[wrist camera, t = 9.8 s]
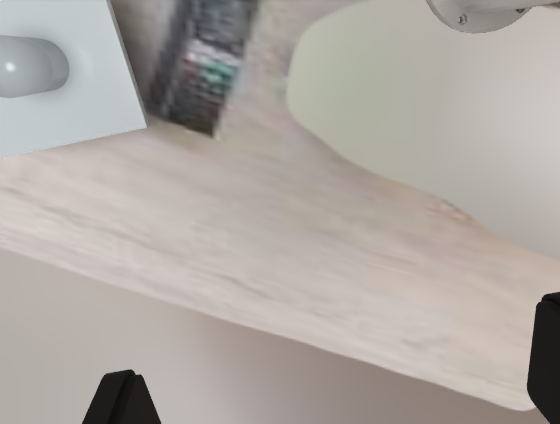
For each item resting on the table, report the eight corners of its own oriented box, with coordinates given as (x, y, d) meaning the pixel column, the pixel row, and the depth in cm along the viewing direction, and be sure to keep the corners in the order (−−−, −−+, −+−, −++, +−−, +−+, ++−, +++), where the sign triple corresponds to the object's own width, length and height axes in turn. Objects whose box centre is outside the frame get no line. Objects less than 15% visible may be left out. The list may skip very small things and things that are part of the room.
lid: (97, -40, 26) (57, -66, 20) (150, 125, 30) (129, 141, 24) (-68, -6, 26) (-153, -23, 20) (8, 155, 30) (-45, 178, 24)
